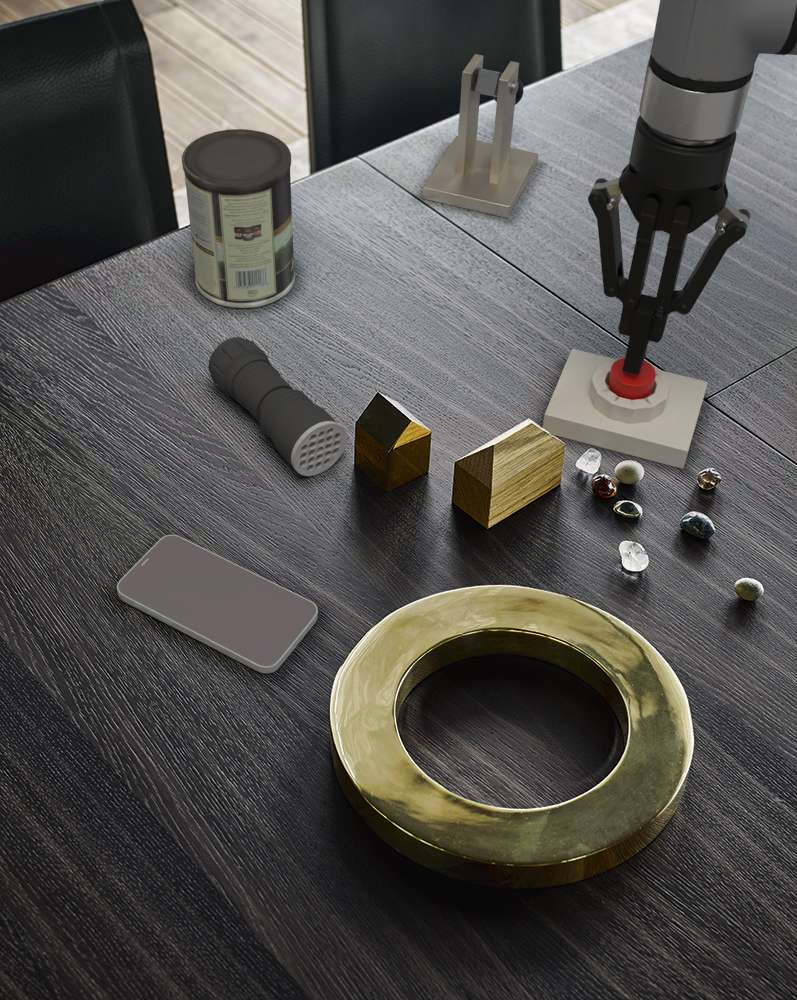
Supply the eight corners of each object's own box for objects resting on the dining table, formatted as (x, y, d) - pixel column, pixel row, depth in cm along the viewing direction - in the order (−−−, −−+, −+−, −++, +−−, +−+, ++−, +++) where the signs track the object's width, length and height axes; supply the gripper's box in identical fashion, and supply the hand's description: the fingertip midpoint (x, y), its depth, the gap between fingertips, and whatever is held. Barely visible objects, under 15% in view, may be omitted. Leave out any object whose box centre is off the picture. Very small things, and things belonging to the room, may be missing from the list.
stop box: (703, 399, 118) (712, 366, 115) (683, 469, 111) (692, 436, 108) (568, 366, 120) (574, 333, 118) (541, 432, 114) (546, 399, 111)
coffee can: (256, 238, 133) (250, 117, 123) (315, 284, 128) (313, 162, 118) (174, 272, 129) (160, 149, 119) (231, 322, 123) (221, 198, 113)
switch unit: (455, 146, 148) (463, 34, 138) (537, 164, 146) (551, 51, 136) (422, 199, 140) (428, 83, 130) (508, 218, 138) (521, 102, 128)
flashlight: (204, 388, 116) (199, 343, 113) (254, 367, 119) (251, 322, 115) (295, 485, 108) (292, 439, 104) (346, 460, 110) (346, 414, 106)
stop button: (656, 377, 114) (660, 363, 113) (647, 405, 111) (650, 390, 110) (613, 367, 115) (616, 352, 114) (603, 394, 112) (606, 379, 111)
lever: (492, 104, 146) (499, 72, 145) (522, 110, 145) (529, 78, 144) (467, 96, 134) (474, 61, 133) (499, 102, 133) (507, 67, 132)
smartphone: (270, 672, 93) (110, 589, 98) (270, 680, 94) (111, 597, 99) (323, 606, 98) (168, 530, 102) (323, 613, 98) (169, 537, 103)
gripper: (781, 116, 95) (713, 356, 112) (614, 82, 98) (572, 322, 115) (767, 164, 90) (698, 408, 107) (591, 127, 93) (551, 371, 110)
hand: (633, 363), depth 111 cm, fingers closed
